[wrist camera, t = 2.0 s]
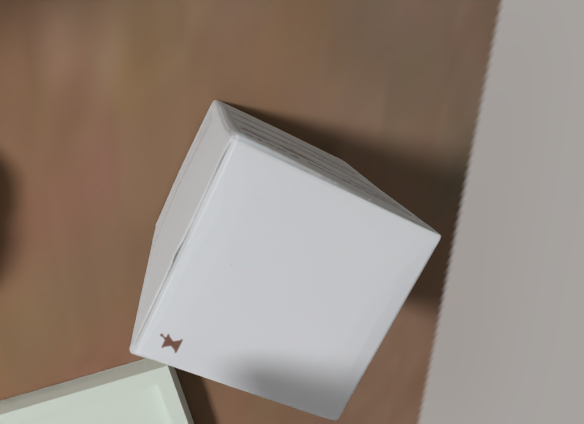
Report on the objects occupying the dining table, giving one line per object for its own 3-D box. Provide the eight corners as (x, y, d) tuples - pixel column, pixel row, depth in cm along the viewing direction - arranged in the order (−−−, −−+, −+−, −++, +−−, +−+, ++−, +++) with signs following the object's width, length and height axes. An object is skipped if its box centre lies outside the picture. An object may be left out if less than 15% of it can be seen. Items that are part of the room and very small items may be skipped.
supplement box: (281, 279, 30) (335, 433, 18) (152, 225, 28) (117, 357, 16) (345, 158, 29) (451, 237, 17) (215, 92, 27) (229, 128, 15)
